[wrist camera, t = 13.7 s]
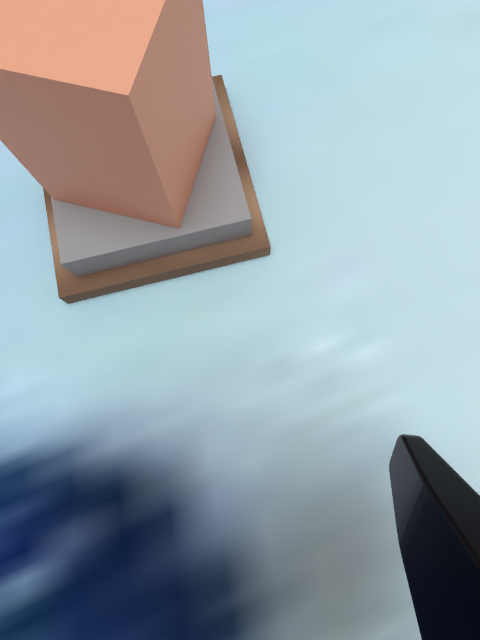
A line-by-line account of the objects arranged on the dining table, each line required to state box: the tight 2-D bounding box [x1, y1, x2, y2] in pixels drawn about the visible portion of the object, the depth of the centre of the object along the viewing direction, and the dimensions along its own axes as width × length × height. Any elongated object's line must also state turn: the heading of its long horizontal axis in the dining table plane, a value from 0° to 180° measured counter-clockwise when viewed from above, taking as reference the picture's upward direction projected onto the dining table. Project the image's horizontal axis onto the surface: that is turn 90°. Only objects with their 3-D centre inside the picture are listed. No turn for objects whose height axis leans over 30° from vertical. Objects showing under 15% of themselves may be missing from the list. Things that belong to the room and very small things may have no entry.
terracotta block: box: [0, 0, 216, 229], centre depth 18 cm, size 7×7×9 cm
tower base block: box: [43, 75, 270, 303], centre depth 25 cm, size 12×12×2 cm
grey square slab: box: [51, 75, 251, 277], centre depth 23 cm, size 10×10×2 cm
